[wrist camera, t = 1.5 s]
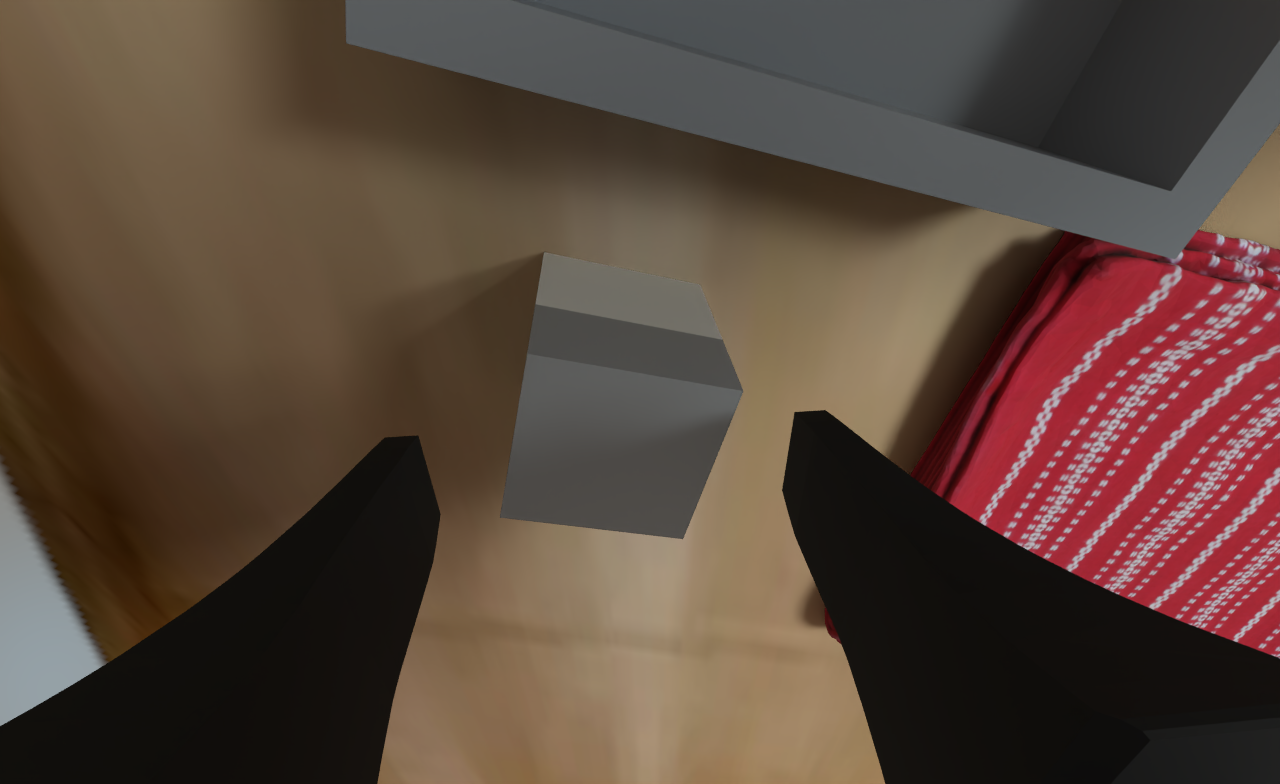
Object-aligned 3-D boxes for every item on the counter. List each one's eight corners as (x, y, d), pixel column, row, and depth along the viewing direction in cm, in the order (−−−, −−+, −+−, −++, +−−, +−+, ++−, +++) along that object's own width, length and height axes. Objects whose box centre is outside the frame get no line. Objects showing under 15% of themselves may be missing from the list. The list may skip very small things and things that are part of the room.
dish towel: (1038, 187, 15) (1117, 221, 13) (1661, 329, 19) (1800, 372, 17) (800, 609, 24) (822, 671, 22) (1257, 642, 28) (1314, 697, 26)
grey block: (699, 284, 15) (743, 390, 11) (659, 409, 17) (682, 538, 13) (544, 251, 14) (527, 353, 10) (521, 386, 16) (499, 517, 12)
